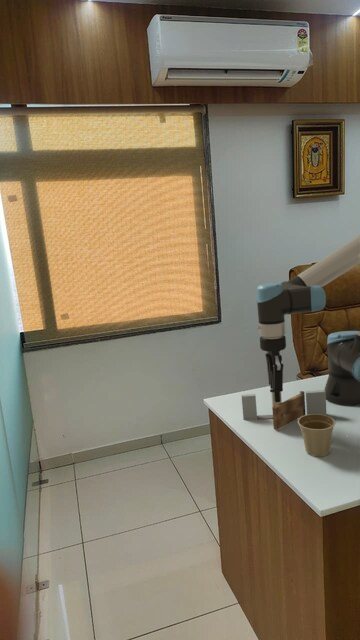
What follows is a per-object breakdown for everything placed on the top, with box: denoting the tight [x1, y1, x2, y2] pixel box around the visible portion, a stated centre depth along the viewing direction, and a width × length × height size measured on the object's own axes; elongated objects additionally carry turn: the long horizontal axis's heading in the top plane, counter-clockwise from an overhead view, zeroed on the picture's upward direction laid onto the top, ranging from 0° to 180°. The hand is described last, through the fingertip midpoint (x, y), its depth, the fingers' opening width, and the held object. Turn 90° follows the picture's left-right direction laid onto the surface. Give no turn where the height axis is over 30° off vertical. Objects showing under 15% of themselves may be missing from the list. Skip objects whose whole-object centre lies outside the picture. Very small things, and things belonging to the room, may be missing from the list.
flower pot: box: [297, 414, 336, 457], centre depth 110 cm, size 9×9×9 cm
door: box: [271, 390, 307, 431], centre depth 127 cm, size 14×2×8 cm, turn 128°
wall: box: [241, 389, 328, 421], centre depth 132 cm, size 26×2×8 cm, turn 83°
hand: (277, 410), depth 127 cm, fingers closed
